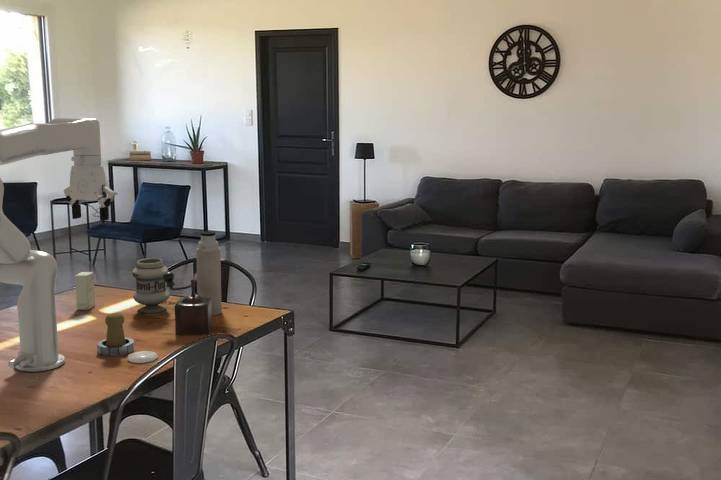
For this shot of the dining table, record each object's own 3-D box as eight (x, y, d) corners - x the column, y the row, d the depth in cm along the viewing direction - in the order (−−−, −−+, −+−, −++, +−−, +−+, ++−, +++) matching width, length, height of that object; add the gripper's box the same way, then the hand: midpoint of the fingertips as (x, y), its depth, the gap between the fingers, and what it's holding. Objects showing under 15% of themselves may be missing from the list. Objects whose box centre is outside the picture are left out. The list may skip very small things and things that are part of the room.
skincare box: (89, 310, 260) (87, 275, 258) (76, 309, 260) (74, 275, 258) (95, 305, 266) (94, 271, 264) (83, 305, 266) (81, 271, 264)
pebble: (146, 364, 207) (146, 361, 207) (121, 361, 210) (121, 358, 210) (162, 355, 215) (162, 353, 215) (138, 352, 217) (138, 349, 217)
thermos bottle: (209, 308, 264) (207, 229, 259) (226, 311, 260) (225, 231, 255) (193, 313, 258) (190, 232, 253) (210, 317, 254) (208, 235, 249)
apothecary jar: (126, 313, 256) (123, 261, 253) (148, 305, 267) (147, 255, 264) (155, 318, 252) (153, 265, 248) (177, 309, 262) (175, 258, 259)
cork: (120, 354, 215) (118, 317, 213) (101, 353, 216) (99, 316, 214) (130, 348, 221) (129, 311, 219) (112, 346, 222) (110, 310, 220)
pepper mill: (213, 324, 245) (212, 270, 242) (208, 335, 234) (207, 278, 231) (165, 324, 244) (163, 270, 241) (157, 335, 234) (155, 278, 230)
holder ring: (120, 357, 212) (119, 349, 212) (90, 353, 215) (90, 345, 215) (140, 347, 222) (140, 339, 221) (112, 343, 225) (112, 335, 224)
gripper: (54, 160, 218) (57, 219, 221) (104, 163, 213) (107, 223, 216) (71, 159, 225) (74, 215, 228) (120, 161, 220) (123, 219, 223)
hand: (90, 219), depth 222 cm, fingers open, 9 cm apart
